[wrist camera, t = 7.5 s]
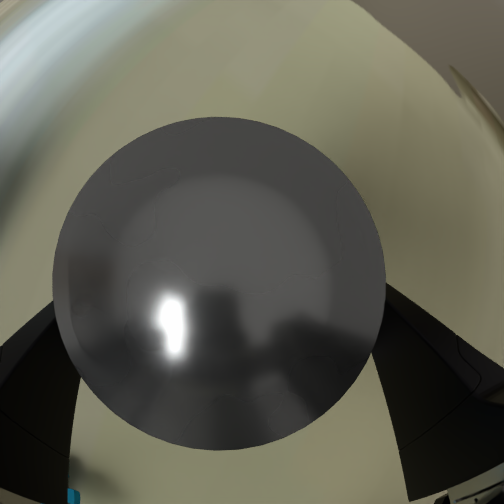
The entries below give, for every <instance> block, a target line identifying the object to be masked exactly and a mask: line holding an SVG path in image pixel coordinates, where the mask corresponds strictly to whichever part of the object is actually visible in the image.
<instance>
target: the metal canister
mask: <svg viewBox="0 0 504 504" xmlns="http://www.w3.org/2000/svg"><path fill="white" fill-rule="evenodd" d="M385 295H386V273H385V265H384V257H383V251H382V247H381V243H380V239H379V235H378V232H377V229H376V227H375V224H374V222H373V219H372V217H371V214H370V212H369V210H368V208H367V207H366V205H365V203H364V201H363V199H362V198H361V196H360V194H359V193H358V191H357V190H356V188H355V187H354V186H353V184H352V183H351V182H350V180H349V179H348V178H347V176H346V175H345V174H344V173H343V172H342V171H341V170H340V169H339V168H338V167H337V166H336V165H335V164H334V163H333V162H332V161H331V160H330V159H329V158H328V157H326V156H325V155H324V154H323V153H321V152H320V151H319V150H318V149H316V148H315V147H313V146H312V145H310V144H309V143H307V142H305V141H304V140H302V139H300V138H299V137H297V136H295V135H293V134H291V133H288V132H286V131H284V130H282V129H280V128H277V127H274V126H271V125H268V124H264V123H261V122H258V121H252V120H247V119H241V118H230V117H207V118H195V119H190V120H185V121H180V122H176V123H172V124H169V125H166V126H163V127H160V128H157V129H155V130H153V131H151V132H149V133H147V134H144V135H142V136H140V137H138V138H137V139H135V140H133V141H132V142H130V143H129V144H127V145H126V146H124V147H122V148H121V149H120V150H118V151H117V152H116V153H115V154H113V155H112V156H111V157H110V158H109V159H107V160H106V161H105V162H104V163H103V164H102V165H101V166H100V167H99V168H98V169H97V170H96V172H95V173H94V174H93V175H92V176H91V177H90V178H89V180H88V181H87V182H86V184H85V185H84V186H83V188H82V189H81V191H80V192H79V193H78V195H77V197H76V199H75V200H74V202H73V204H72V206H71V208H70V210H69V212H68V214H67V216H66V219H65V221H64V224H63V226H62V229H61V231H60V235H59V239H58V243H57V247H56V251H55V257H54V265H53V301H54V309H55V315H56V320H57V324H58V327H59V331H60V334H61V338H62V340H63V343H64V345H65V348H66V350H67V352H68V355H69V357H70V359H71V361H72V362H73V364H74V366H75V368H76V369H77V371H78V373H79V374H80V376H81V377H82V379H83V380H84V381H85V383H86V384H87V385H88V387H89V388H90V389H91V390H92V392H93V393H94V394H95V395H96V396H97V397H98V398H99V399H100V400H101V401H102V402H103V403H104V404H105V405H106V406H107V407H108V408H109V409H110V410H111V411H112V412H114V413H115V414H116V415H118V416H119V417H120V418H122V419H123V420H125V421H126V422H127V423H129V424H130V425H132V426H134V427H136V428H137V429H139V430H141V431H143V432H145V433H147V434H148V435H151V436H153V437H156V438H158V439H161V440H163V441H166V442H169V443H172V444H176V445H180V446H184V447H189V448H194V449H204V450H238V449H244V448H250V447H255V446H260V445H264V444H267V443H270V442H273V441H276V440H279V439H282V438H284V437H286V436H288V435H290V434H292V433H295V432H296V431H298V430H300V429H302V428H304V427H306V426H307V425H309V424H310V423H312V422H313V421H315V420H316V419H318V418H319V417H320V416H322V415H323V414H324V413H325V412H327V411H328V410H329V409H330V408H331V407H332V406H333V405H334V404H335V403H336V402H337V401H339V400H340V399H341V397H342V396H343V395H344V394H345V393H346V391H347V390H348V389H349V388H350V387H351V385H352V384H353V383H354V382H355V380H356V379H357V377H358V375H359V374H360V372H361V371H362V369H363V367H364V366H365V364H366V362H367V360H368V358H369V356H370V354H371V351H372V349H373V347H374V345H375V342H376V339H377V336H378V333H379V329H380V326H381V322H382V318H383V311H384V304H385Z"/></svg>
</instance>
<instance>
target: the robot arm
mask: <svg viewBox="0 0 504 504" xmlns="http://www.w3.org/2000/svg"><path fill="white" fill-rule="evenodd" d="M371 353H372V356H373V359H374V362H375V365H376V368H377V372H378V375H379V378H380V382H381V385H382V388H383V392H384V395H385V399H386V402H387V406H388V410H389V413H390V417H391V421H392V425H393V429H394V433H395V437H396V441H397V445H398V450H399V455H400V459H401V464H402V469H403V474H404V479H405V484H406V490H407V495H408V500H409V502H411V501H414V500H418V499H421V498H424V497H427V496H430V495H433V494H436V493H439V492H441V491H444V490H447V492H448V493H447V494H445V495H443V496H441V497H439V498H438V499H436V501H435V503H434V504H504V368H502V367H501V366H499V365H498V364H497V363H495V362H494V361H492V360H491V359H489V358H488V357H486V356H485V355H484V354H482V353H481V352H479V351H478V350H476V349H475V348H474V347H472V346H471V345H470V344H468V343H467V342H466V341H464V340H463V339H462V338H461V337H459V336H458V335H456V334H455V333H454V332H453V331H452V330H450V329H449V328H448V327H446V326H445V325H444V324H442V323H441V322H440V321H438V320H437V319H436V318H434V317H433V316H432V315H430V314H429V313H428V312H426V311H425V310H424V309H422V308H421V307H420V306H418V305H417V304H415V303H414V302H413V301H411V300H410V299H409V298H407V297H406V296H404V295H403V294H402V293H400V292H399V291H397V290H396V289H395V288H393V287H392V286H390V285H389V284H387V283H386V295H385V304H384V311H383V318H382V322H381V326H380V329H379V333H378V336H377V339H376V342H375V345H374V347H373V349H372V351H371ZM80 379H81V376H80V374H79V373H78V371H77V369H76V368H75V366H74V364H73V362H72V361H71V359H70V357H69V355H68V352H67V350H66V348H65V345H64V343H63V340H62V338H61V334H60V331H59V327H58V324H57V320H56V315H55V309H54V301H52V302H51V303H49V304H48V305H47V306H46V307H45V308H43V309H42V310H41V311H40V312H39V313H37V314H36V315H35V316H34V317H33V318H32V319H30V320H29V321H28V322H27V323H26V324H25V325H24V326H22V327H21V328H20V329H19V330H18V331H17V332H16V333H15V334H13V335H12V336H11V337H10V338H9V339H8V340H7V341H6V342H5V343H4V344H3V346H0V504H41V503H42V504H68V472H69V455H70V444H71V435H72V427H73V420H74V413H75V406H76V400H77V395H78V389H79V384H80Z"/></svg>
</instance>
